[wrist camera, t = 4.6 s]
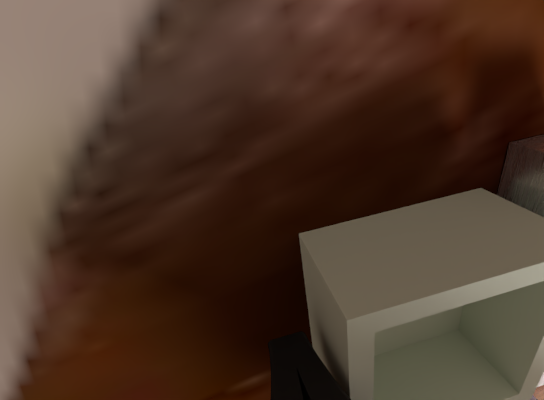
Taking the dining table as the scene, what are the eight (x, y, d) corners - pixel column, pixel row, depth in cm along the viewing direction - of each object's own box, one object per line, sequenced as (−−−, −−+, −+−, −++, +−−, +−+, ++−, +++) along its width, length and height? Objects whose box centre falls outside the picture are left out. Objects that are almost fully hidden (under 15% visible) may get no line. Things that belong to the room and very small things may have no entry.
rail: (495, 328, 16) (552, 381, 14) (462, 339, 16) (514, 395, 13) (555, 131, 11) (664, 155, 9) (509, 142, 11) (607, 170, 8)
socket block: (454, 319, 15) (530, 399, 12) (314, 362, 14) (352, 463, 11) (480, 187, 12) (602, 244, 8) (298, 233, 11) (346, 320, 7)
